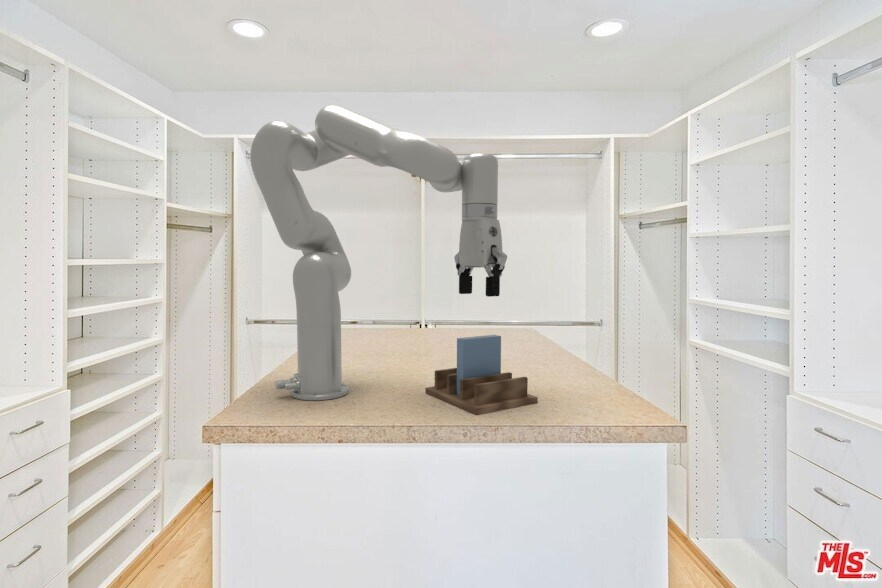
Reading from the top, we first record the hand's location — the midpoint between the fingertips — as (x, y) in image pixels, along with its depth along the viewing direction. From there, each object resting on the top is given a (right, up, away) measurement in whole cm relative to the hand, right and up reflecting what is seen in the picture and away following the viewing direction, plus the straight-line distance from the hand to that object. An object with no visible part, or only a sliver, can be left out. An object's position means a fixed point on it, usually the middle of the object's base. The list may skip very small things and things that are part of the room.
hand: (478, 294), depth 105 cm
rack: (0, -22, +1) cm, 22 cm away
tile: (0, -21, +1) cm, 21 cm away
